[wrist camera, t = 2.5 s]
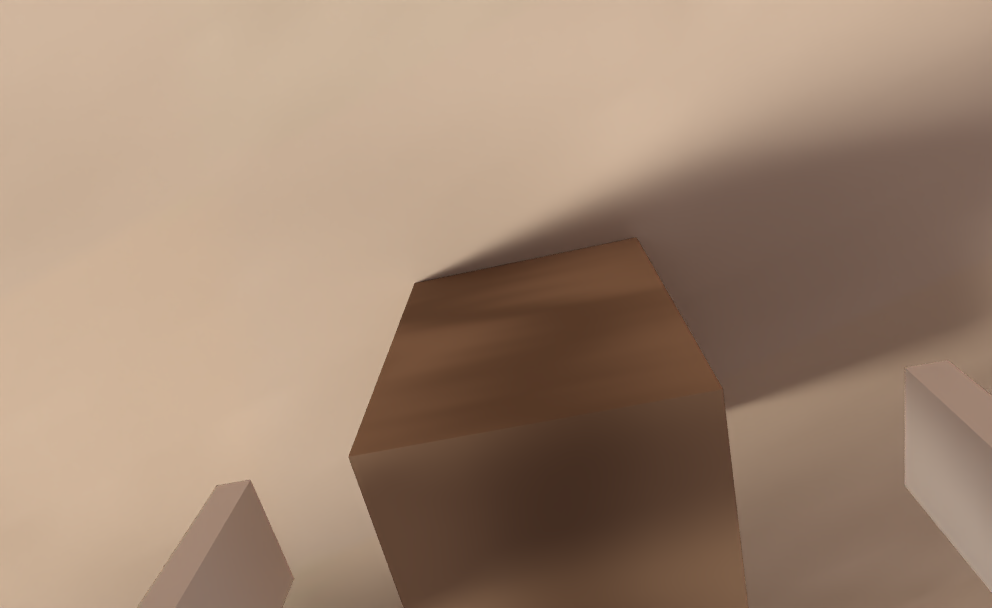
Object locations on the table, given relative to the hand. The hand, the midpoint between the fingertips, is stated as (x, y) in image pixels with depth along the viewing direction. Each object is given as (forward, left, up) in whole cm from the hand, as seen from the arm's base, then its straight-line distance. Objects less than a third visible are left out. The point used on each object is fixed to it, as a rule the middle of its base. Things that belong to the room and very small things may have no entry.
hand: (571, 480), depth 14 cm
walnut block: (0, 0, -6) cm, 6 cm away
